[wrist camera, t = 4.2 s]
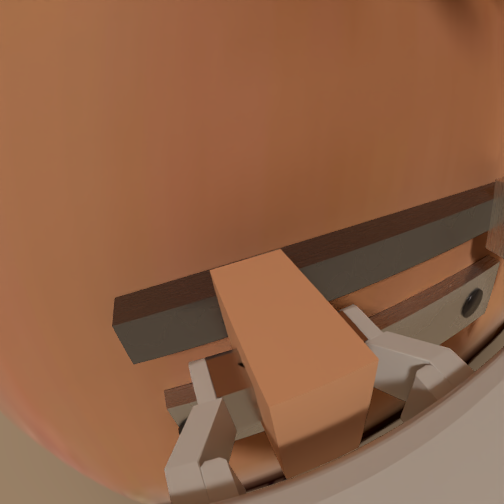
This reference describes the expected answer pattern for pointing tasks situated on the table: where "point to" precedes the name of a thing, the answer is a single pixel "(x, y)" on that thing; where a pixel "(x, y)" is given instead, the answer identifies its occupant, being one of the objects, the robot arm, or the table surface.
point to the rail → (314, 269)
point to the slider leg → (296, 360)
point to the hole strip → (398, 324)
